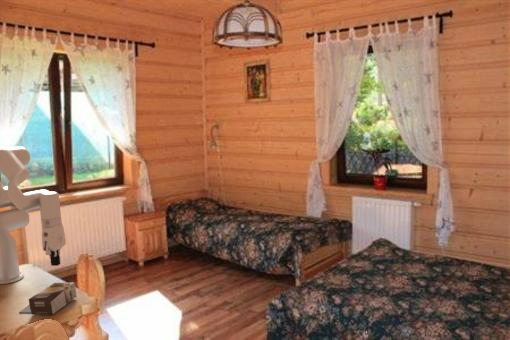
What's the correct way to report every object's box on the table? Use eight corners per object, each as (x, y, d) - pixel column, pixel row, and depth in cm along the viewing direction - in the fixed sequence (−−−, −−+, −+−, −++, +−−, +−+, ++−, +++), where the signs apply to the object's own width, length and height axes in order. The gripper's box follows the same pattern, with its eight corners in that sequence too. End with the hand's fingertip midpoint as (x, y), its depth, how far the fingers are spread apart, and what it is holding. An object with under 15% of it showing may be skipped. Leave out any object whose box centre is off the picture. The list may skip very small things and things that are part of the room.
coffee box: (74, 281, 180) (50, 298, 165) (77, 296, 181) (53, 314, 165) (53, 282, 182) (28, 298, 166) (56, 297, 183) (30, 315, 167)
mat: (19, 313, 170) (19, 312, 170) (38, 298, 183) (38, 297, 183) (49, 313, 169) (49, 312, 169) (66, 298, 181) (66, 297, 181)
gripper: (49, 226, 177) (54, 271, 179) (69, 217, 191) (73, 259, 194) (32, 226, 178) (36, 271, 180) (53, 217, 192) (57, 258, 195)
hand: (55, 264), depth 187 cm, fingers closed
